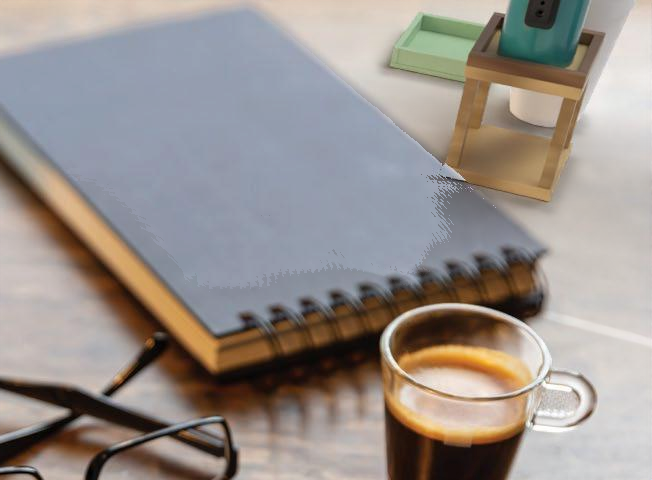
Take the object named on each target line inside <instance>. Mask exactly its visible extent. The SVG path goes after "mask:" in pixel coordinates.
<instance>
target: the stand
mask: <svg viewBox="0 0 652 480" xmlns="http://www.w3.org/2000/svg"><path fill="white" fill-rule="evenodd" d="M505 14H506V13H502V12H497V11H494V12H493V13H492V15H491V16H490V18H489V20H488V22H487V23H486V24H485V25H486V26H485V28H484V30H483V31H482V33H481V35H480V36H479V38H478V39H477V41H476V43H475V44H474V46H473V48H472V49H471V51H470V52H469V54H468V59H467V63H466V67H465V72H464V77H466V80H465V82H464V85H463V89H462V94H461V98H460V101H459V107H458V111H457V115H456V119H455V123H454V127H453V133H452V137H451V141H450V146H449V149H448V154H447V157H446V159H445V161H444V163H446V164H447V165H448V166H450V167H451V168H453V169H454V170H455V171H456V172H457V173H459V174H460V175H461V176H462V177H463V178H464V179H465V180H466V181H467V182H468V184H471V185H477V186H481V187H485V188H488V189H494V190H498V191H503V192H506V193H510V194H515V195H519V196H524V197H527V198H532V199H536V200H540V201H545V202H550V201H551V199H552V196H553V194H554V192H555V189H556V187H557V185H558V182H559V180H560V178H561V175H562V173H563V170H564V168H565V167H566V164H567V161H568V159H569V157H570V154H571V152H572V148H573V144H574V143H572V140H573V136H574V132H575V128H576V125H577V123H578V122H577V119H578V116H579V112H580V109H581V106H582V102H583V99H584V96H585V92H586V89H587V86H588V82H589V79H590V76H591V73H592V71H593V68H594V66H595V64H596V62H597V59H598V57H599V55H600V52H601V48H602V44H603V42H604V38H605V35H606V33H604V32H599V31H594V30H588V29H583V31H582V35H581V38H580V42H579V45H578V49H577V52H576V56H575V59H574V62H573V63H572V64H571V65H570V66H568V67H566V68H559V67H554V66H549V65H544V64H539V63H534V62H529V61H524V60H519V59H514V58H509V57H504V56H499V55H498V53H497V46H498V42H499V38H500V34H501V30H502V26H503V22H504V18H505ZM492 84H498V85H503V86H506V87H510V88H511V87H516V88H521V89H526V90H530V91H535V92H540V93H545V94H550V95H555V96H560V97H564V98H563V101H562V105H561V108H560V112H559V115H558V119H557V122H556V126H555V127H554V128H553V129H554V130H553V133H552V136H551V138H549V137H544V136H540V135H537V134H536V135H535V134H531V133H527V132H523V131H522V132H521V131H517V130H513V129H508V128H503V127H499V126H496V125H495V126H494V125H489V124H486V123H483V120H484V115H485V111H486V107H487V104H488V99H489V95H490V91H491V88H492V87H491V86H492ZM467 182H466V183H467Z"/></svg>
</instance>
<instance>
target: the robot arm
mask: <svg viewBox="0 0 652 480" xmlns="http://www.w3.org/2000/svg"><path fill="white" fill-rule="evenodd" d="M560 2H561V0H529V3H528V6H527V10H526V14H525V18H524V23H525V25H527V26H529V27H534V28H539V29H544V30H549V29H551V28H552V27H553V25H554V23H555V21H556V17H557V13H558V10H559V6H560Z"/></svg>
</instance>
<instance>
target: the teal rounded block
mask: <svg viewBox="0 0 652 480" xmlns="http://www.w3.org/2000/svg"><path fill="white" fill-rule="evenodd" d="M528 3H529V0H508V2H507V6H506V10H505V13H504V14H505V18H504V22H503V26H502V30H501V34H500V38H499V42H498V46H497V53H498V55H499V56H504V57H509V58H514V59H519V60H524V61H529V62H534V63H539V64H544V65H549V66H554V67H559V68H566V67H568V66H570V65H571V64H572V63H573V62H574V59H575V56H576V52H577V49H578V45H579V42H580V38H581V35H582V31H583V28H584V24H585V21H586V17H587V14H588V10H589V7H590V3H591V0H561V2H560V6H559V10H558V13H557V17H556V21H555V23H554V25H553V27H552V28H551V29H549V30H544V29H539V28H534V27H529V26H527V25H525V23H524V18H525V14H526V10H527V6H528Z"/></svg>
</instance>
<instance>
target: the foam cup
mask: <svg viewBox="0 0 652 480" xmlns="http://www.w3.org/2000/svg"><path fill="white" fill-rule="evenodd" d="M637 1H638V0H591V3H590V7H589V10H588V14H587V17H586V21H585V24H584V28H583V29H588V30H594V31H599V32H604V33H606V35H605V38H604V42H603V44H602V48H601V52H600V55H599V57H598V59H597V62H596V64H595V66H594V68H593V71H592V73H591V76H590V79H589V82H588V86H587V89H586V92H585V96H584V99H583V102H582V106H581V109H580V112H579V116H578V119H577V123H578V122H579V121H580V120H581V119H582V117H583V113H584V112H585V111H586V109H587V107H588V104H589V102H590V100H591V97H592V96H593V93H594V91H595V89H596V87H597V85H598V83H599V80H600V78H601V76H602V74H603V71H604V69H605V68H606V65H607V63H608V61H609V59H610V57H611V54H612V52H613V49H614V48H615V45H616V44H617V41H618V38H619V37H620V35H621V32H622V31H623V28H624V26H625V24H626V22H627V19H628V17H629V15H630V13H631V11H632V10H633V9H635V7H636V4H637ZM509 93H510V94H509V103H508V105H509V112H510V113H511V114H512V115H514V116H515V118H517V119H518V120H521V121H523V122H525V123H527V124H529V125H532V126H538V127H544V128H555V126H556V122H557V119H558V115H559V112H560V108H561V105H562V101H563V98H564V97H560V96H555V95H550V94H545V93H540V92H535V91H530V90H526V89H521V88H516V87H511V86H510V92H509Z"/></svg>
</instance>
